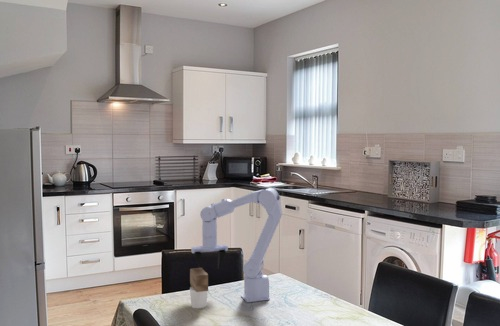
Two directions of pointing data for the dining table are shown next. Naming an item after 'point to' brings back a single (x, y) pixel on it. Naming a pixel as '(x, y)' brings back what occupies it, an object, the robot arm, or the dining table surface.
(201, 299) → the white cylinder
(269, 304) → the dining table surface
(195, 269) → the walnut block
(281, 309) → the dining table surface
